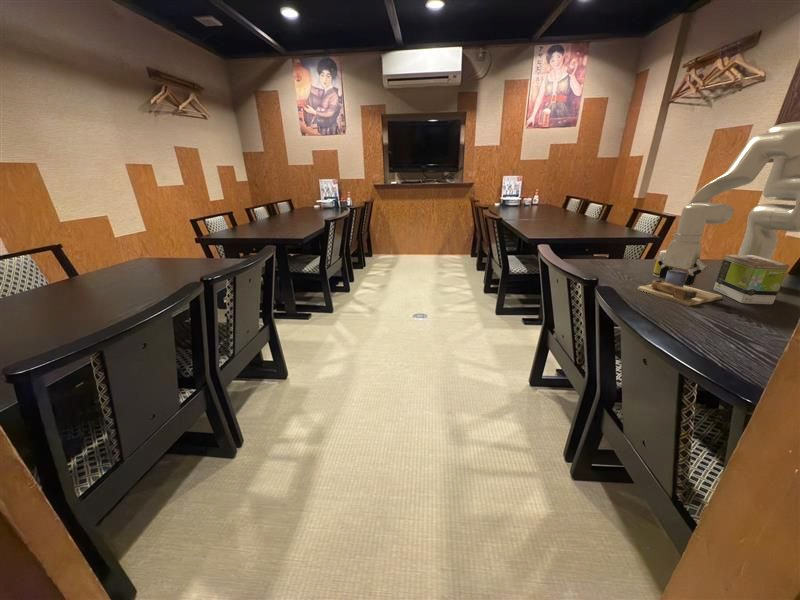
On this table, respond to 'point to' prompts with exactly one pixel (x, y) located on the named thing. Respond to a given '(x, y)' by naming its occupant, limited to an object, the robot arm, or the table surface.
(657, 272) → the supplement bottle
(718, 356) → the table surface
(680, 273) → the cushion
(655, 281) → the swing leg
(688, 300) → the board
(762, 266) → the tea box
